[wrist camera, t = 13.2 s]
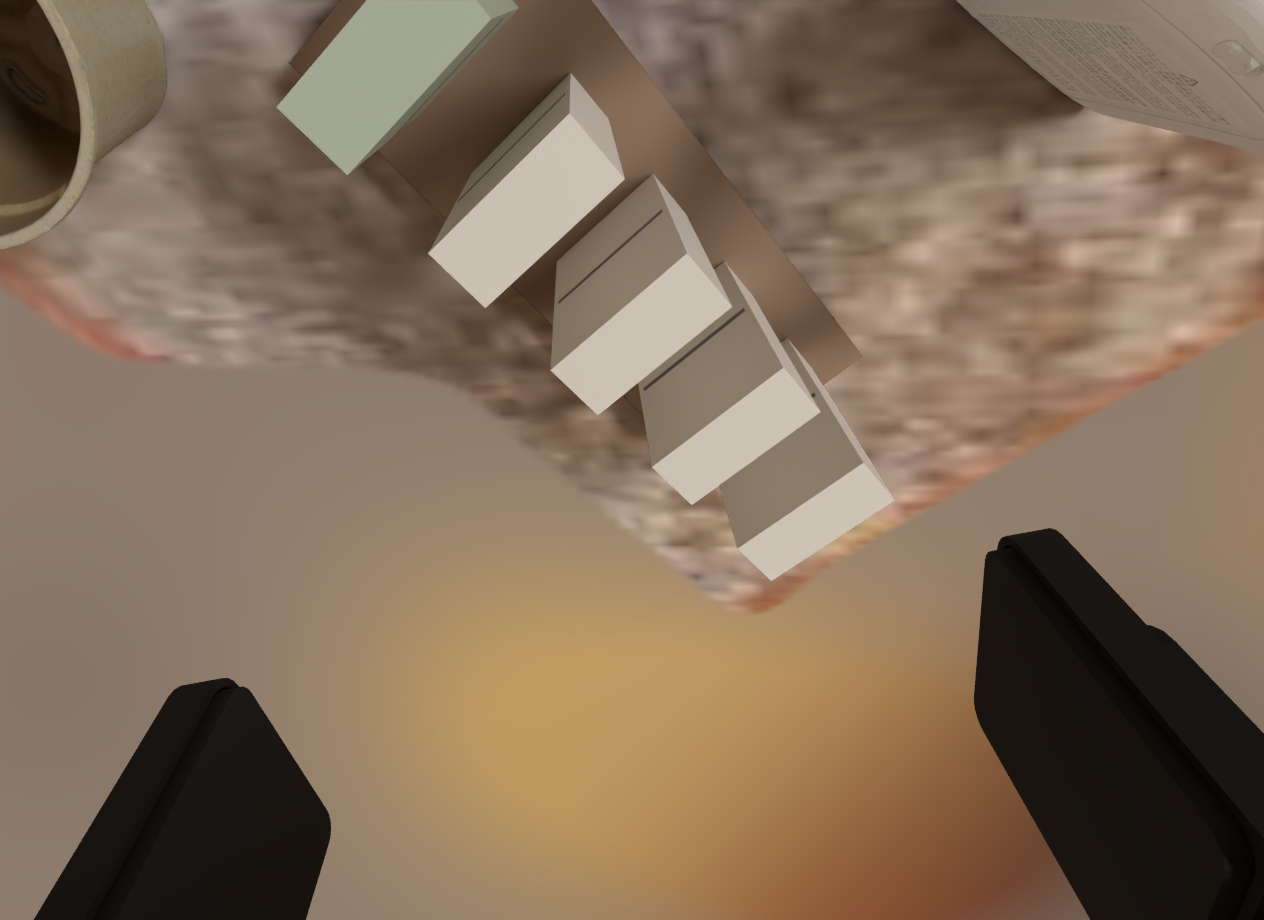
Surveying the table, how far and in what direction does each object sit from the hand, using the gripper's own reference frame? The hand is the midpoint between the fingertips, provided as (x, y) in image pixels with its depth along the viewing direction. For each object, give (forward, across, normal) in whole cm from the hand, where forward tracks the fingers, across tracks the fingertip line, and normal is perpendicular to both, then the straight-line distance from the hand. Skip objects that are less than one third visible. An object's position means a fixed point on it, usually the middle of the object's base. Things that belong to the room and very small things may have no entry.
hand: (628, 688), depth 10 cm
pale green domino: (+23, +4, -8) cm, 24 cm away
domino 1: (+23, +1, -4) cm, 23 cm away
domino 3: (+23, -3, +4) cm, 24 cm away
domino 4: (+23, -6, +8) cm, 25 cm away
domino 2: (+23, -1, 0) cm, 23 cm away
